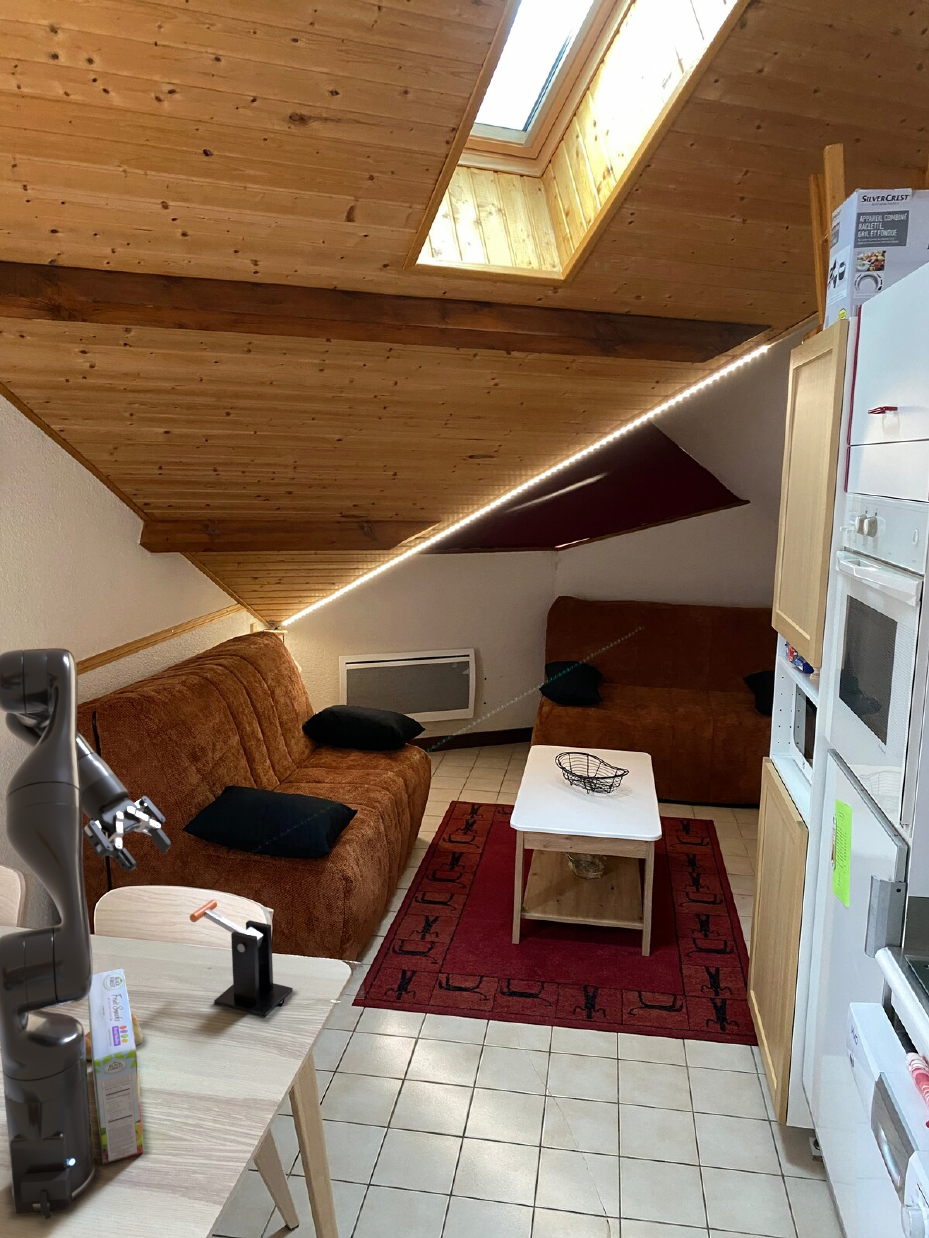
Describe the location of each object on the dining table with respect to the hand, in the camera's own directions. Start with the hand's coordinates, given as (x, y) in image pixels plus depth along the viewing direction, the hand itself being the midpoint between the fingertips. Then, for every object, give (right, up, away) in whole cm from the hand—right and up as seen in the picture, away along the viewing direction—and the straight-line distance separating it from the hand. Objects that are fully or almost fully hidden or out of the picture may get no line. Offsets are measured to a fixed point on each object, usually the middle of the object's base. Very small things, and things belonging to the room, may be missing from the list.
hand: (150, 859), depth 154 cm
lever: (+14, -11, -4) cm, 18 cm away
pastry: (0, -25, -16) cm, 29 cm away
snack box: (+6, -27, -29) cm, 40 cm away
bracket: (+19, -23, -4) cm, 30 cm away
